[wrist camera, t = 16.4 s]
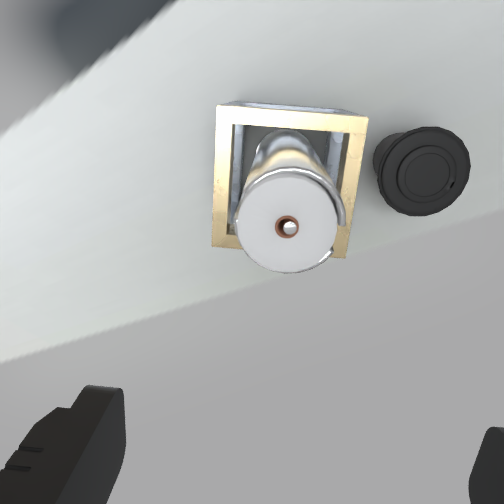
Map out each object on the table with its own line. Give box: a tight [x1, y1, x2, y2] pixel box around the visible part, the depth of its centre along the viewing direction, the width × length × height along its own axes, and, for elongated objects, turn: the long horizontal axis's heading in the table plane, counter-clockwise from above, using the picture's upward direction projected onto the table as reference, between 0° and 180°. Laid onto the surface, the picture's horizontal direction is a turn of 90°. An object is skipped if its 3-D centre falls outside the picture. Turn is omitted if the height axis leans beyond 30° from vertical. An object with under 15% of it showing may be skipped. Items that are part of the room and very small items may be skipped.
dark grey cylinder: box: [373, 127, 471, 216], centre depth 41 cm, size 8×8×10 cm
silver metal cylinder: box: [234, 129, 346, 273], centre depth 35 cm, size 6×6×25 cm
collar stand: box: [212, 101, 369, 258], centre depth 40 cm, size 11×11×14 cm
